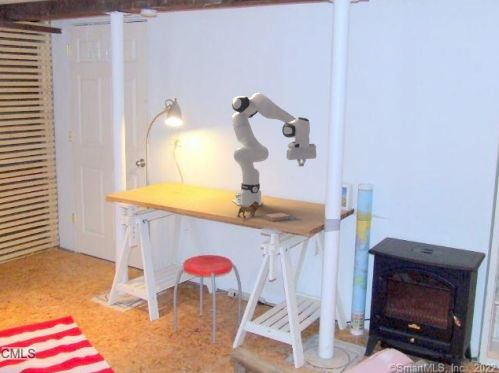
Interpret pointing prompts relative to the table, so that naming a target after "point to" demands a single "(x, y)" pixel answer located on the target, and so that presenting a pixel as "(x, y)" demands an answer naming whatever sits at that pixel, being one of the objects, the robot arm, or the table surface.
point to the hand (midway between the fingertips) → (301, 166)
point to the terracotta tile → (277, 216)
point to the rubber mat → (291, 218)
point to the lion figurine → (249, 209)
